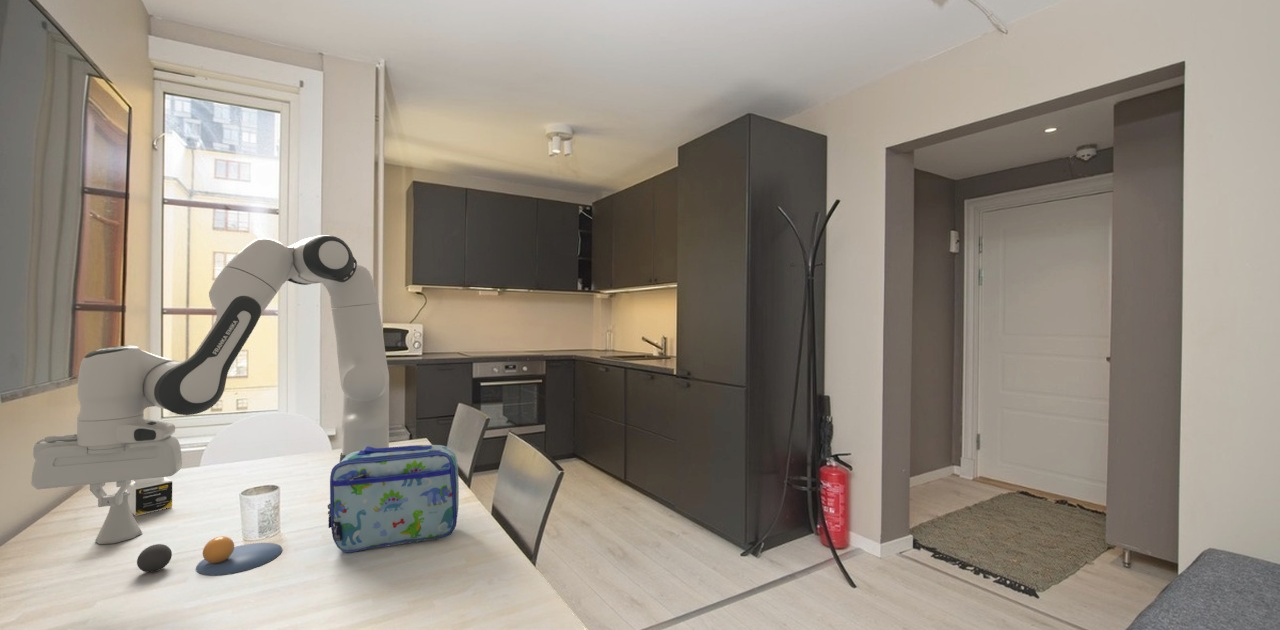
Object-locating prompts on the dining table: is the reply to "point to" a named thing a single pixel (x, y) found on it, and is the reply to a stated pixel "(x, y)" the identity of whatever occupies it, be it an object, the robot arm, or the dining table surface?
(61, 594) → the dining table surface
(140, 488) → the medicine bottle
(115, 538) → the flask
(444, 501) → the lunch box
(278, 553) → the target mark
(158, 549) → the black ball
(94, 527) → the dining table surface
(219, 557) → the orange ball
